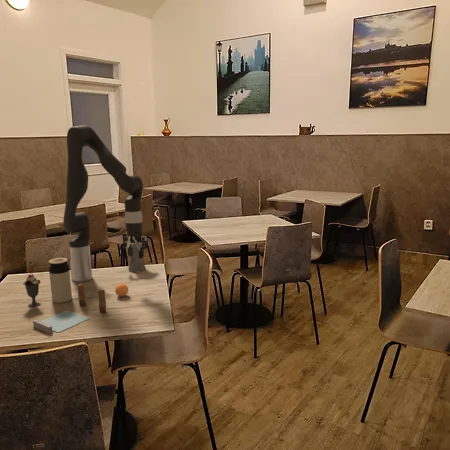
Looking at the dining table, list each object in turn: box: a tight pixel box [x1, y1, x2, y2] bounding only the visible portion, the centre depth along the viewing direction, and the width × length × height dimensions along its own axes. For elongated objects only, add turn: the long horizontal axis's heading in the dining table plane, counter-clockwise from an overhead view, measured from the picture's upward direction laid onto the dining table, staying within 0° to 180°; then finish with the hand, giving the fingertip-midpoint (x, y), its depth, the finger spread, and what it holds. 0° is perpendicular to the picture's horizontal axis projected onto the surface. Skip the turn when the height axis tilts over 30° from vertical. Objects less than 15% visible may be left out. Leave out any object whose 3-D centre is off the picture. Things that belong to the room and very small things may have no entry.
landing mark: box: [39, 310, 91, 334], centre depth 161 cm, size 14×14×1 cm
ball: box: [114, 283, 129, 298], centre depth 185 cm, size 6×6×6 cm
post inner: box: [77, 283, 87, 307], centre depth 175 cm, size 3×3×9 cm
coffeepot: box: [119, 241, 146, 273], centre depth 219 cm, size 15×9×18 cm, turn 129°
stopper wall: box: [32, 319, 53, 335], centre depth 154 cm, size 10×1×2 cm, turn 56°
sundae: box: [22, 269, 42, 308], centre depth 176 cm, size 7×7×15 cm
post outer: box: [97, 289, 107, 314], centre depth 168 cm, size 3×3×9 cm
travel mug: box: [48, 257, 73, 304], centre depth 181 cm, size 8×8×18 cm
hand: (135, 256), depth 190 cm, fingers open, 6 cm apart
